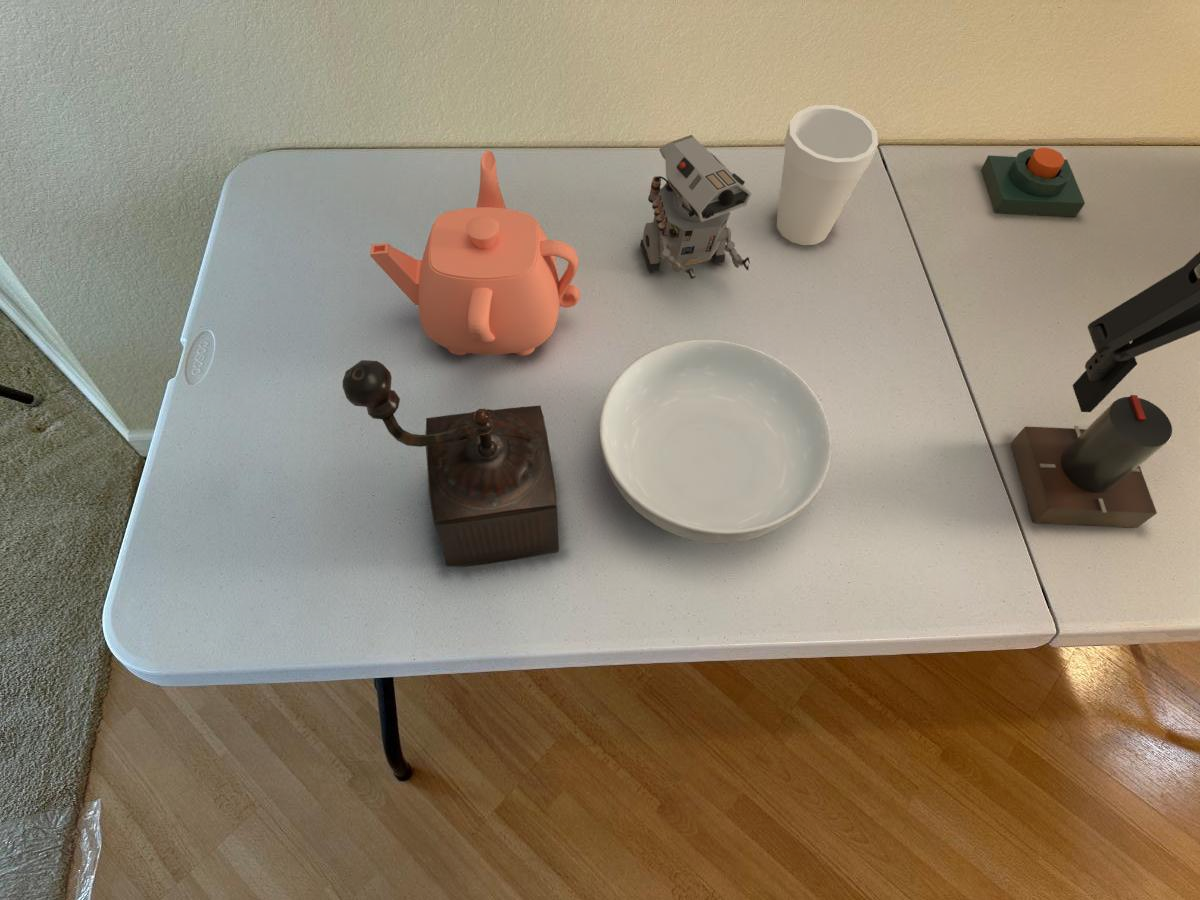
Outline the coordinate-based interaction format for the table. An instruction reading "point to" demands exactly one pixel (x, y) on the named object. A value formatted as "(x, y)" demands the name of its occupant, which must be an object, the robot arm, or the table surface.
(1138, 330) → the robot arm
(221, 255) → the table surface
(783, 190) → the foam cup
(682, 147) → the figurine
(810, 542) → the table surface
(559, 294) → the teapot
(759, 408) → the serving bowl
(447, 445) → the coffee grinder
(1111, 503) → the dial panel
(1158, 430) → the pointer knob
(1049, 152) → the button
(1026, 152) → the button box
